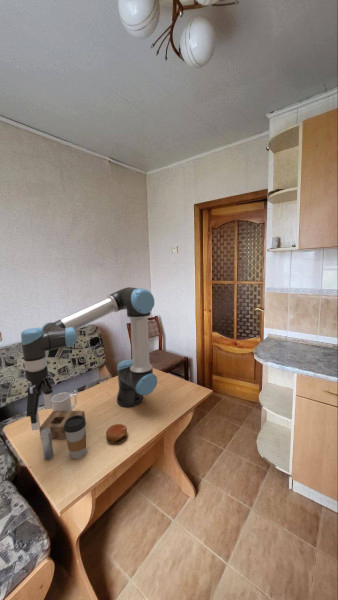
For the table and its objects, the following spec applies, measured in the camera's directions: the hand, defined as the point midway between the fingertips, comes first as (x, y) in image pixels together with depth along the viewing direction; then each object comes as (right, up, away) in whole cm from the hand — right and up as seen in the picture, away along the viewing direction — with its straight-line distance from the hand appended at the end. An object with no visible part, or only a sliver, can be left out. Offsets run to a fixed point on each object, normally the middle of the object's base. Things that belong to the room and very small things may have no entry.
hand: (42, 418), depth 99 cm
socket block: (+1, -15, +19) cm, 24 cm away
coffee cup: (+13, -17, +4) cm, 21 cm away
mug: (-3, -13, +31) cm, 33 cm away
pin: (+1, -17, +3) cm, 17 cm away
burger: (+27, -15, +12) cm, 33 cm away
